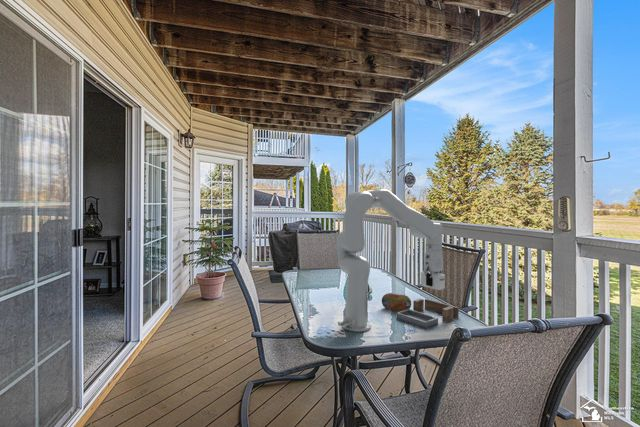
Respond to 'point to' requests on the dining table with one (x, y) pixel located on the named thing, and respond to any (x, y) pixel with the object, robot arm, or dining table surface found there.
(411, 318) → the tray
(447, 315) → the bay
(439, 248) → the robot arm
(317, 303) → the dining table surface
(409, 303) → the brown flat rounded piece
